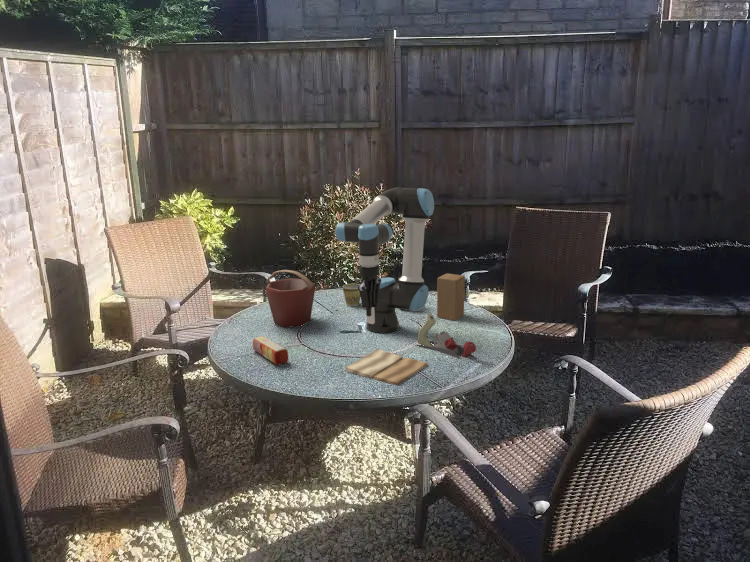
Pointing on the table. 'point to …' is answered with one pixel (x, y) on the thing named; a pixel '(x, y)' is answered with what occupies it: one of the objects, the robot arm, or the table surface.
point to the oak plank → (401, 371)
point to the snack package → (270, 350)
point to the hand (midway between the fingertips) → (370, 322)
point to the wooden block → (450, 296)
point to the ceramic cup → (352, 294)
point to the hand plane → (444, 342)
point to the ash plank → (373, 363)
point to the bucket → (290, 299)
